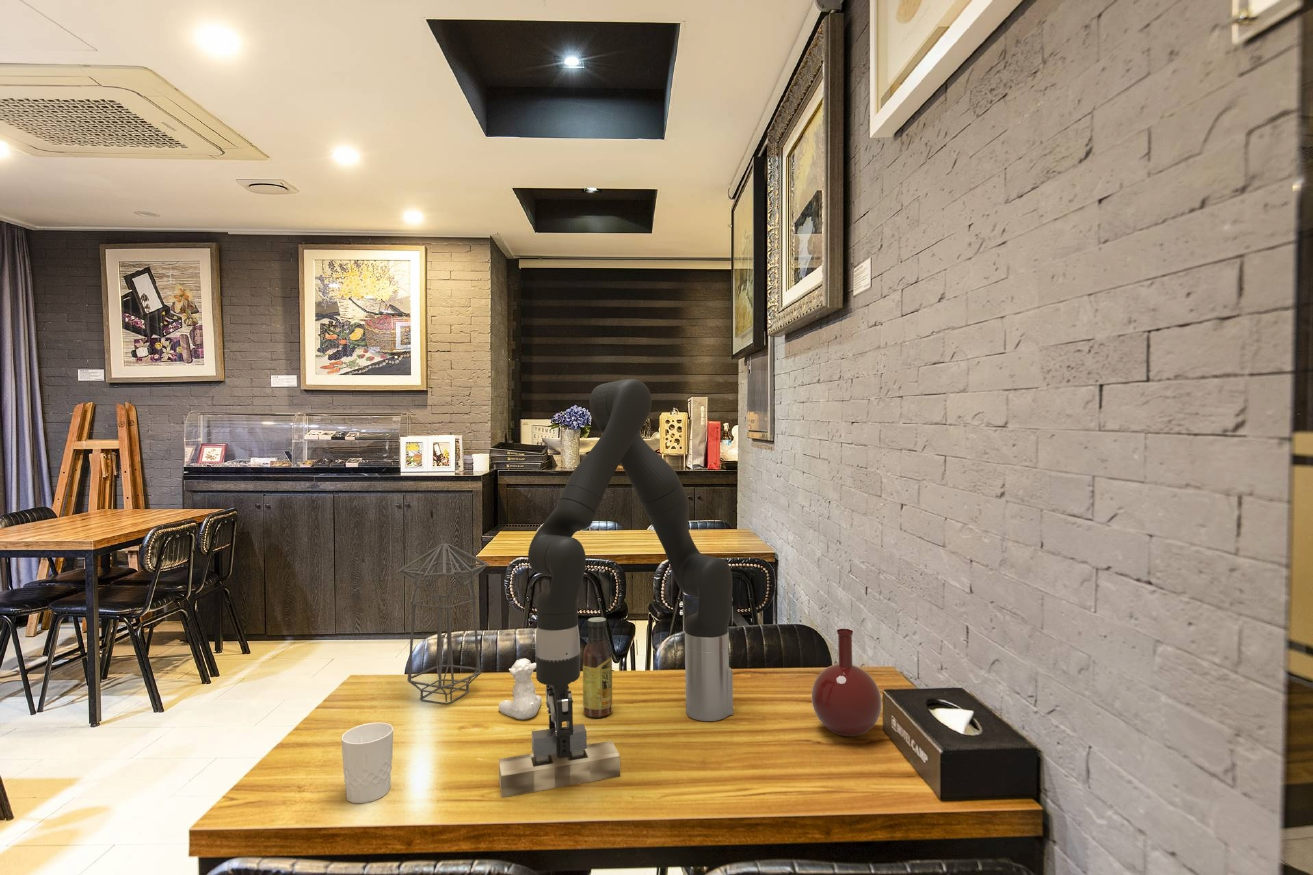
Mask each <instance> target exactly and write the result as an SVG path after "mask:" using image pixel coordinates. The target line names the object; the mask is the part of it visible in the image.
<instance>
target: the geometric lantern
mask: <svg viewBox="0 0 1313 875" xmlns="http://www.w3.org/2000/svg"><path fill="white" fill-rule="evenodd" d="M446 552H447V554H446ZM441 553H442V561H439V560H440V557H441ZM446 555H448V558H449V561H448V560H447V558H446V557H447V556H446ZM461 555H463V556H465V557H467V558H469V559H471V560H473V561H476V563H470V562H468V561H467V560H466V559H465V558H463V557H462V556H461ZM427 556H428V557H427ZM425 557H427V558H426V560H424V561H423V563H422V564H421V565H420V566H419V567H418V568H409V567H410V566H412V565H413V564H415V563H417V562H419V561H421V560H422V559H424V558H425ZM436 560H437V561H436ZM439 564H442V572H437V573H436V572H435V573H434V571H435V570H436V568H437V567H438V565H439ZM453 566H454V567H455V568H454V567H453ZM476 566H477V567H476ZM487 566H490V564H489V563H488V562H486V561H484V560H481V558H477V557H476V556H474V555H472V554H470V553H469V552H466V551H464V550H462V549H460V548H458V547H456V546H454V545H452V544H450V543H441V544H439V545H438V546H436V547H435V548H433V549H432V550H430V551H428V552H426V553H424V554H423V555H421V556H419V557H418V558H416V559H415V560H413V561H411V562H409V563H407V564H406V565H404V566H402V567H400V568H399V569H398V573H400V574H401V575H402V576H404V577H405V578H406V579H407V580H408V581H409V582H411V584H413V585H414V586H415V590H414V592H413V593H414V594H413V597H412V600H411V603H410V605H411V615H410V640H409V641H410V642H409V658H408V669H407V670H408V671H407V683H409V684H411V685H412V686H414V688H416V689H417V690H419V692H420V698H419V700H420V701H421V702H425V703H433V704H439V705H445V706H446V705H449V704H453V703H454V702H456V701H458V699H461V698H462V697H464V696H465V695H467V694H468V693H470V684H471V683H472V682H473V681H474V680H475V679H477V678H478V677H479V676H480V675H481V674H482V672H481V660H480V649H479V637H478V635H479V634H478V625H477V623H478V621H477V620H478V619H477V605H476V604H477V602H476V601H477V600H476V599H477V597H476V594H475V588H474V580H475V578H476V577H478V575H480V573H481V572H482V571H483V570H484V569H486V568H487ZM432 567H433V568H432ZM473 567H474V568H473ZM447 568H449V569H450V570H451V571H450V573H447ZM464 569H466V570H464ZM423 570H426V571H425V573H424V572H422V571H423ZM430 570H431V571H430ZM468 573H470V574H469V575H465V574H468ZM413 574H414V575H413ZM420 575H421V576H423V578H420ZM456 575H457V576H456ZM435 576H437V577H435ZM443 576H452V577H453V578H454V579H455V582H454V583H453V585H452V587H451V588H450V590H449V591H448V593H447V594H440V593H439V591H438V590H437V589H436V588H435V586H434V585H433V583H435V582H437V581H438V580H439V579H441V578H442V577H443ZM431 577H435V578H434V579H432V580H431V581H430V579H431ZM461 578H462V581H461V580H460V579H461ZM465 579H466V581H465ZM468 579H469V580H468ZM420 582H424V584H420ZM427 582H428V583H427ZM457 583H458V585H457ZM456 585H457V586H456ZM466 585H467V587H468V590H469V594H470V596H468V595H467V596H466V595H455V594H456V592H457V590H458V589H459V587H460V586H461V587H465V586H466ZM431 587H432V588H433V590H434V591H435V592H436V594H437V595H436V594H435V593H434V591H433V590H432V588H431ZM420 588H422V589H423V588H427V589H428V590H429V593H430V594H431V595H432V596H431V597H428V598H425V599H422V600H418V601H417V597H418V593H419V589H420ZM453 590H454V591H453ZM452 592H453V593H452ZM451 593H452V594H451ZM442 598H446V604H445V605H442ZM452 598H463V599H470V600H467V601H462V602H459V603H457V604H454V605H450V602H451V600H452ZM430 600H435V603H437V605H428V604H419V603H423V602H426V601H430ZM467 603H471V604H472V615H473V626H474V646H475V647H474V648H475V667H472V666H462V665H455V664H454V659H453V658H454V656H453V640H452V621H451V619H452V618H451V608H453V607H454V608H455V607H457V606H461V605H464V604H467ZM417 607H421V608H422V607H424V608H425V607H426V608H435V609H438V612H437V613H438V614H437V615H438V616H437V631H436V632H437V634H436V635H437V636H436V655H435V666H433V667H430V668H428V669H426V670H422V671H421V672H419V673H416V674H414V675H412V670H413V669H412V667H413V666H412V665H413V664H412V663H413V645H414V634H415V621H416V610H417V609H416V608H417ZM443 609H446V642H447V643H446V647H447V648H446V651H447V653H446V654H447V657H446V658H447V660H446V662H447V664H442V663H443V662H442V659H443V658H442V655H443V654H442V653H443V651H442V647H443V646H442V645H443V644H442V640H443V639H442V638H443V633H442V631H443V616H442V614H443V612H442V611H443ZM442 668H446V670H445V672H444V675H443V678H442ZM449 668H450V677H451V678H450V679H448V678H446V677H447V673H448V670H449ZM454 668H455V669H465V670H472V671H474V672H473V673H472V674H471V675H469V676H467V677H464V678H462V679H460V680H459V679H455V676H454ZM435 669H436V673H437V678H438V680H436V681H433V682H431V683H428V682H427V683H426V682H421V681H415V680H413V679H414V678H417V677H420V676H422V675H424V674H426V673H429V672H430V671H433V670H435ZM446 682H451V683H447V684H445V683H446ZM436 683H437V684H436ZM460 683H464V684H463V685H461V686H459V687H455V686H456V685H459V684H460ZM419 686H423V687H422V688H421V687H419ZM427 688H435V689H433V690H425V689H427ZM445 689H450V690H449V692H446V690H445ZM437 690H441V691H442V692H441V691H440V692H439V691H437ZM458 690H459V691H466V692H464V693H463V694H461V695H459V696H457V697H455V699H453V693H455V692H456V691H458ZM424 693H426V694H425V695H424ZM431 694H438V695H442V696H443V695H444V696H445V697H444V698H445V699H444V700H445V702H444V701H438V700H429V699H424V698H426V697H427V696H429V695H431ZM448 695H450V698H449V699H450V700H449V701H448Z"/></svg>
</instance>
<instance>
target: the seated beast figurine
mask: <svg viewBox="0 0 1313 875" xmlns="http://www.w3.org/2000/svg"><path fill="white" fill-rule="evenodd" d="M508 670H509V672H510V675H511V676H512V678H513V679H514V685H513V690H512V701H511V700H509V699H504V700H502V701H499V704H498V710H499V711H500V713H501V714H503V715H505V716H508V717H511V718H514V719H516V720H519V721H520V720H522V721H523V720H528V719H532V718H534V717H535V716H536V715H537V713H538V712H539V709H540V708H541V707H540V706H541V705H542V696H541V695H540V694H539V695H538V694H537V693H536V687H535V684H534V682H533V679H532V678H531V677H532V675H533V673H534V670H536V662H533V663H532V662H531V660H529V659H528V658H526V657H525V658H519V659H516V660H515V662H514V664H513V665H512V666H511V668H508Z"/></svg>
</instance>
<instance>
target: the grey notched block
mask: <svg viewBox="0 0 1313 875" xmlns="http://www.w3.org/2000/svg"><path fill="white" fill-rule="evenodd" d="M563 727H564V726H562V727H561V728H563ZM565 727H567V725H566V726H565ZM573 730H574V732H573V735H570V761H571V760H577V759H583V749H587V745H588V744H587V743H588V742H587V741H588V740H587V739H588V738H587V736H588V735H587V729H586V726H585V724H584V723H581V724H573ZM531 751H532V754H533V755H534V757H535V766H541V765H547V764H549V759H548V755H550V754H556V734H555V728H552V729H549V728H546V729H540V730H539V729H538V730H533V731H531Z"/></svg>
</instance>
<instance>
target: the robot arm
mask: <svg viewBox="0 0 1313 875" xmlns="http://www.w3.org/2000/svg"><path fill="white" fill-rule="evenodd" d="M652 403H653V402H652V396H651V392H650V389H649V388H648V387H647V385H646V384H645V383H644V382H643V381H641V380H638V379H636V378H626V379H620V380H616V381H609V382H606V383H601V384H599V385H597V386H595V387H594V389H593V390H592V391H591V392H590V395H589V410H590V414H591V415H592V419H593V421H594V422H595V425H596V426H597V428H598V429H599V431H600V433H601V435H600V437H599V439H598V440H597V442H596V443H594V444H595V445H594V446H593V447H592V448H591V449H590V450H589V451H588V453H587V454H586V455H585V456H584V458H583V459H582V460H581V461H580V462H579V463H578V464H577V465H576V467H575V469H574V470H573V472H572V473H571V475H570V476H569V478H568V479H567V482H566V484H565V487H564V488H563V491H562V493H561V495H560V497H559V499H558V502H557V505H556V506H555V508H554V509H553V511H551V513H550V514H549V516H548V517H547V518H546V519H545V521H544V522H543V524H542V525H541V526H540V527H539V529H538V530H537V532H536V533H535V534H534V536H533V537H532V540H531V541H530V544H529V548H528V552H527V559H528V564H529V566H530V568H531V569H532V570H533V571H534V572H536V573H537V574H539V575H544V576H549V577H551V584H550V587H549V589H545V590H543V591H541V592H539V594H538V596H537V599H536V600H537V601H536V634H535V663H536V668H535V672H536V674H535V677H536V680H537V682H539V683H540V684H542V685H545V686H546V687H545V705H546V708H547V709H546V711H547V713H548V714H547V715H548V729H552V728H555V734H556V755H557V757H558V758H565V757H569V756H570V735H573V732H574V730H573V725H574V715H573V714H574V713H573V711H574V710H573V707H574V706H573V703H574V700H573V695H572V694H573V693H572V690H570V686H569V685H570V684H571V683H574V682H576V681H577V680H578V679H579V678H581V677H580V676H581V650H580V649H581V647H580V646H581V644H580V643H581V642H580V630H579V612H578V611H579V609H578V608H579V607H578V601H579V600H578V599H579V597H580V592H581V589H582V583H583V580H584V575H585V572H586V565H587V557H586V552H585V551H586V550H585V548H584V546H583V544H582V543H581V541H579V539H577V538H575V537H573V536H574V535H575V534H576V533H577V532H580V531H582V530H586V529H588V528H589V527H591V525H592V523H593V521H594V519H595V517H596V515H597V512H598V510H599V507H600V505H601V503H602V501H603V498H604V495H605V493H606V491H607V489H608V486H609V484H610V483H611V480H612V478H613V476H614V475H615V472H616V471H617V469H618V467H619V465H621V467H622V468H623V471H624V473H625V475H626V476H627V478H628V480H629V482H630V484H631V486H632V488H633V489H634V492H635V494H636V497H637V499H638V501H639V503H640V505H641V506H642V509H643V511H644V512H645V514H646V516H647V518H648V519H649V522H650V523H651V525H652V527H653V528H652V529H654V532H655V534H656V536H657V538H658V540H659V542H660V543H661V546H662V549H663V550H664V553H665V557H666V558H667V561H668V564H669V566H670V567H669V568H670V569H671V572H672V574H673V577H674V580H675V581H676V584H677V586H678V588H679V589H680V590H681V592H682V593H684V594H685V595H687V596H689V597H692V598H694V599H697V600H698V607H697V608H698V609H697V612H695V613H692V614H690V615H688V616H686V618H685V620H684V662H685V663H684V666H685V673H684V674H685V712H686V716H688V717H689V718H691V719H693V720H697V721H703V722H715V721H721V720H723V719H726V718H727V717H729V716H733V715H734V694H733V693H734V688H733V687H734V682H733V677H734V676H733V673H734V672H733V669H732V668H731V667H730V665H729V664H730V663H729V662H730V661H729V660H730V659H729V624H730V621H731V617H732V609H733V608H732V607H733V605H732V604H733V602H732V601H733V573H732V570H731V567H730V565H729V563H728V561H726V560H725V559H723V558H720V557H716V556H710V555H708V554H707V555H705V554H702V553H701V552H700V550H699V549H698V548H697V546H696V544H695V542H694V540H693V537H692V536H691V533H690V530H689V520H690V503H689V502H690V501H689V498H688V495H687V492H686V491H685V488H684V486H683V484H682V481H681V479H680V477H679V476H678V474H677V472H676V471H675V470H674V469H673V467H672V466H671V465H670V464H669V463H668V461H666V460H665V459H664V458H663V457H662V456H661V455H660V454H659V453H657V451H655V450H654V449H653V448H652V446H649V444H648V443H647V442H646V441H645V440H644V438H643V437H642V435H641V433H640V431H641V429H642V428H643V426H644V424H645V423H646V421H647V419H648V418H649V415H650V412H651V410H652ZM564 722H566V726H567V727H566V726H563V723H564ZM561 727H563V728H561Z"/></svg>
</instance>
